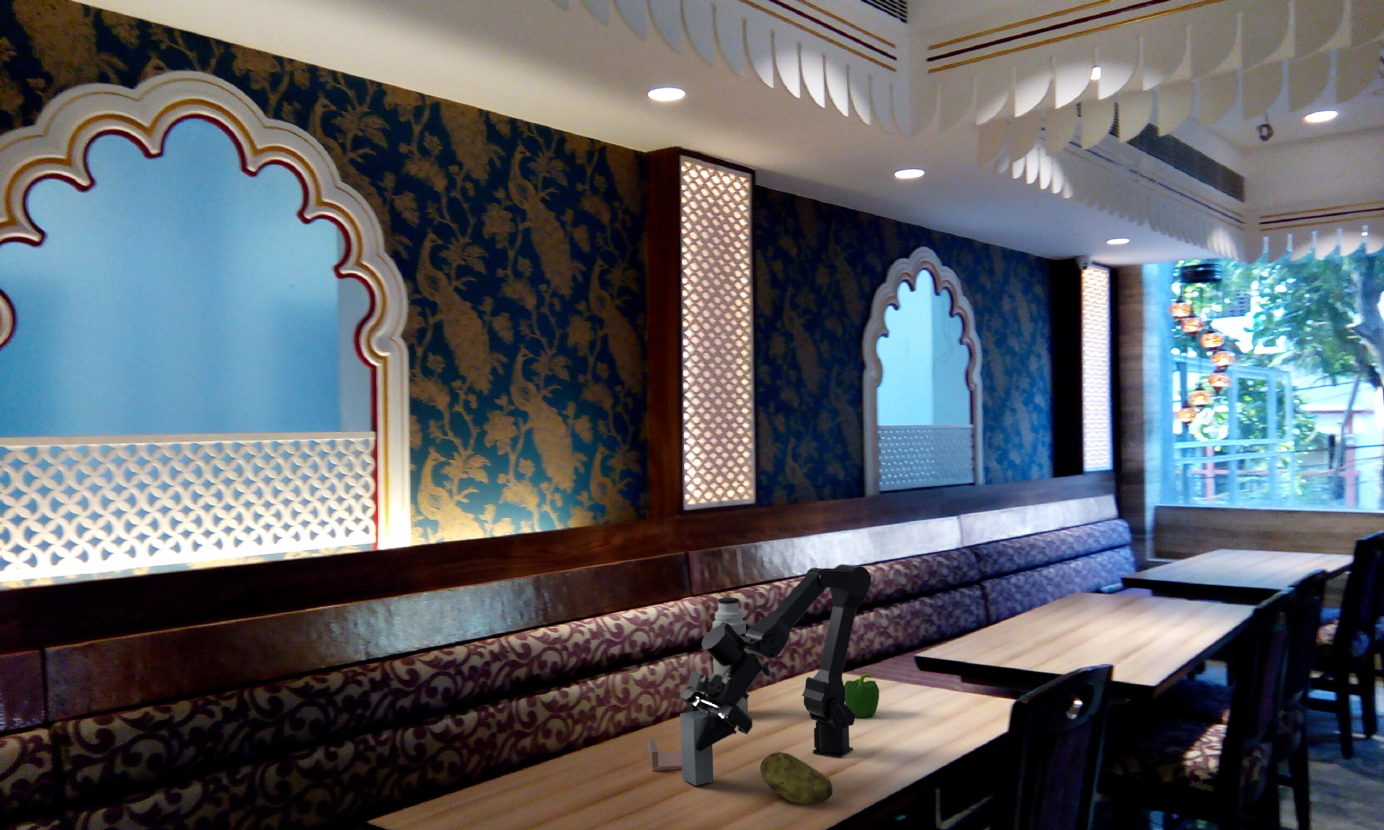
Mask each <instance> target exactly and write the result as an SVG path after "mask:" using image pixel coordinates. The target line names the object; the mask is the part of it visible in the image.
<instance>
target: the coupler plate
mask: <svg viewBox="0 0 1384 830" xmlns="http://www.w3.org/2000/svg"><path fill="white" fill-rule="evenodd" d="M647 739H648V740H647V741H648V743H647V744H648V759H649V764H650V766H651V767H650V768H651V771H652V772H659V771H660V772H661V771H664V772H665V771H676V770H682V750H666V751H664V750H663V751H658V746H657V743H656V740H655V737H648V738H647Z"/></svg>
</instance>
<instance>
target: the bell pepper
mask: <svg viewBox="0 0 1384 830" xmlns="http://www.w3.org/2000/svg"><path fill="white" fill-rule="evenodd" d="M872 676H873V675H872V673H869V672H867V673H863V674H862V675H861V676H860V677H859V678H857V679H855V680H846V681H845V683H844V688H845V705H846V706H847V707H848V708H849V709H850V710H851V711H852V712H853V713H854V714H855V718H858V719H860V718H861V719H862V718H867V717H873V716H875V714H876V712H877V709H878V705H879V699H880V688H879V686H878V684H877V682H876V680H866V681H864V680H865V679H866V678H870V679H871V678H872Z"/></svg>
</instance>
